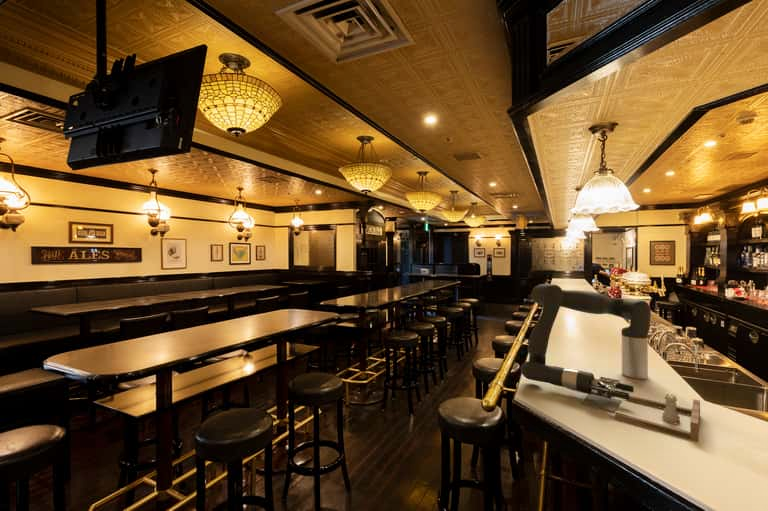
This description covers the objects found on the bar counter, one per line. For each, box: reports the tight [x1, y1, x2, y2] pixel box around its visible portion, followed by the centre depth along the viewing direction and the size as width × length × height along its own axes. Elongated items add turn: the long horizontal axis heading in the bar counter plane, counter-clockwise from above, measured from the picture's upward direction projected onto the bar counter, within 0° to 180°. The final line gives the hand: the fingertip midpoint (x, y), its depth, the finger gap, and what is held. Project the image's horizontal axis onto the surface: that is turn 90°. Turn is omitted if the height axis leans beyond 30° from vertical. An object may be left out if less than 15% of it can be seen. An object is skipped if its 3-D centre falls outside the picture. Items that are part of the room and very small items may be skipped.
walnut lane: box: [614, 394, 701, 442], centre depth 110 cm, size 21×20×5 cm
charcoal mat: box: [580, 394, 622, 414], centre depth 121 cm, size 12×10×1 cm
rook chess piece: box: [661, 393, 681, 424], centre depth 108 cm, size 4×4×8 cm
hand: (631, 392), depth 115 cm, fingers open, 8 cm apart
